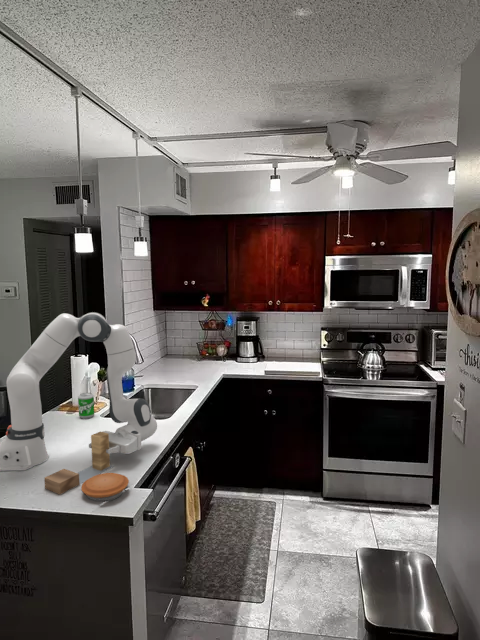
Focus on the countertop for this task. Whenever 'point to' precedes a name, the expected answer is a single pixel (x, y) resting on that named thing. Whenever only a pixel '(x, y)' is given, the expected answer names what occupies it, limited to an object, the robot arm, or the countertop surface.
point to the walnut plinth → (61, 481)
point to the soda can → (86, 405)
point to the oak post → (100, 450)
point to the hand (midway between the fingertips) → (98, 449)
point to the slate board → (90, 473)
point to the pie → (105, 486)
